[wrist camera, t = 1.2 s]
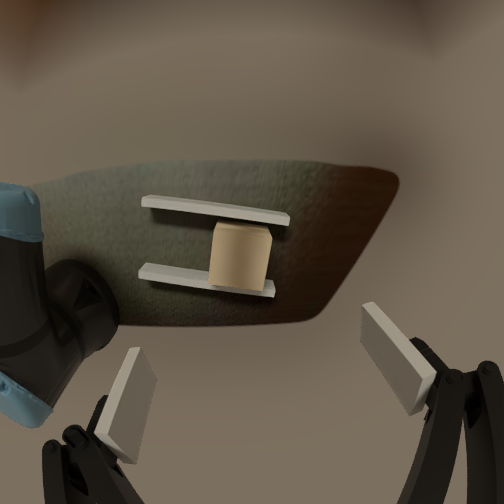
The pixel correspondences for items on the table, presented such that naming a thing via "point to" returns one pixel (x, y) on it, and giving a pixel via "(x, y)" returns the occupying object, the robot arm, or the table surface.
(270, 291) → the channel
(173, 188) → the table surface
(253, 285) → the maple block
